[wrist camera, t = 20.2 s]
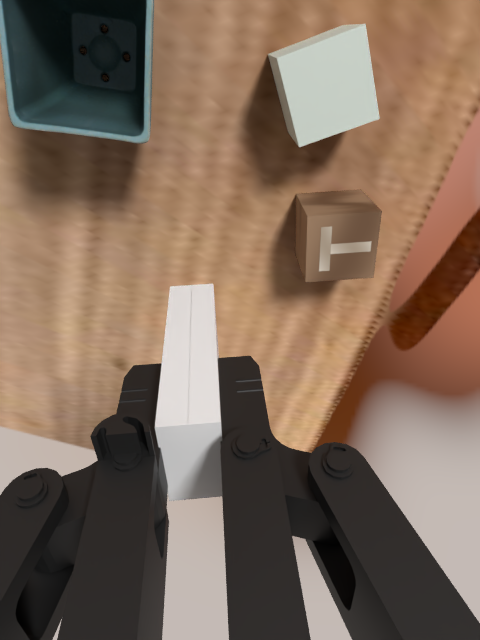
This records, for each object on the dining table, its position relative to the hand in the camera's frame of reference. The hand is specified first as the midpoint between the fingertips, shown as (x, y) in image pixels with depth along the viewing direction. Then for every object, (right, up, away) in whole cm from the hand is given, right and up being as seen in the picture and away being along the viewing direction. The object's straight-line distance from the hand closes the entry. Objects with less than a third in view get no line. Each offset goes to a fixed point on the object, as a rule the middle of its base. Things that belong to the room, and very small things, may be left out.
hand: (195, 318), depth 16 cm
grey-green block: (+8, +19, +20) cm, 29 cm away
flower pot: (-9, +20, +18) cm, 29 cm away
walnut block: (+10, +6, +21) cm, 24 cm away
